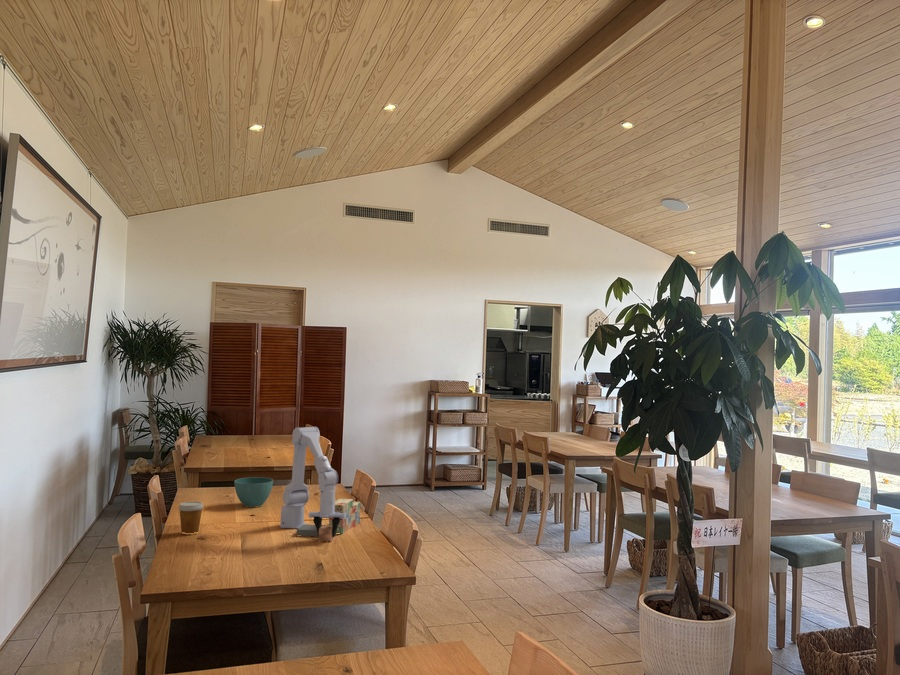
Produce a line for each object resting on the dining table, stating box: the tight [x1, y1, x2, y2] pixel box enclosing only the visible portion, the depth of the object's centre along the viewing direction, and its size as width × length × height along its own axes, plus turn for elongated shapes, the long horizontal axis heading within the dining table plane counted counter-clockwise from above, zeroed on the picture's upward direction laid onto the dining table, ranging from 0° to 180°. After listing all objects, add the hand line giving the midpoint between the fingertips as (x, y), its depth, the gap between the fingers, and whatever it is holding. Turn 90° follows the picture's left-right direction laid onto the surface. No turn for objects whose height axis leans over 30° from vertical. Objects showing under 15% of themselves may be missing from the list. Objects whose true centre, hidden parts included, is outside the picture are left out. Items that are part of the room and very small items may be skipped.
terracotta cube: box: [318, 525, 335, 542], centre depth 265 cm, size 5×5×5 cm
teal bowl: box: [233, 476, 274, 508], centre depth 327 cm, size 18×18×12 cm
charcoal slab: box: [296, 523, 326, 537], centre depth 274 cm, size 9×9×3 cm
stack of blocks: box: [328, 498, 361, 535], centre depth 285 cm, size 21×6×12 cm, turn 168°
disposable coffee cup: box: [178, 501, 204, 533], centre depth 271 cm, size 10×10×12 cm
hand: (326, 536), depth 265 cm, fingers closed on terracotta cube, 5 cm apart
